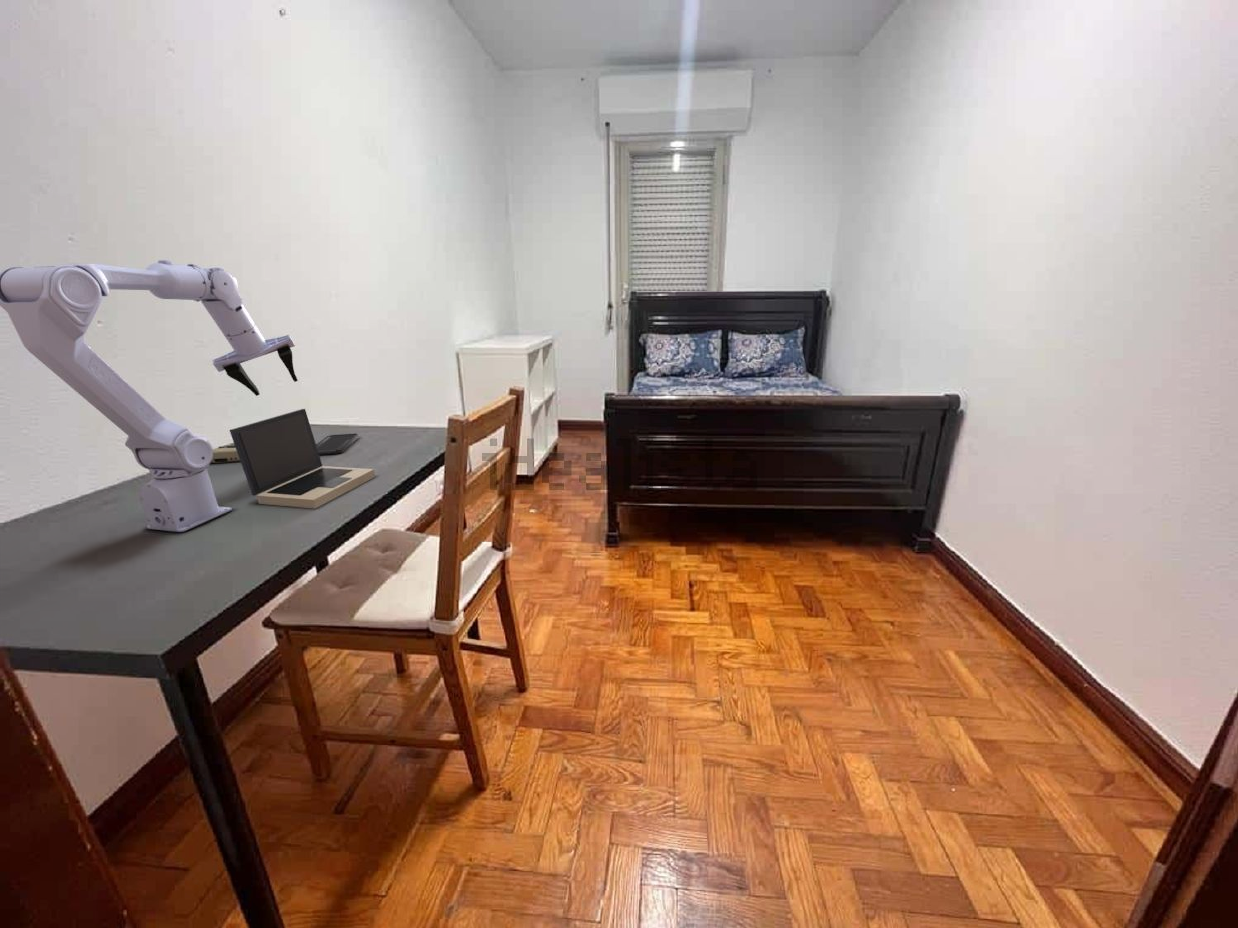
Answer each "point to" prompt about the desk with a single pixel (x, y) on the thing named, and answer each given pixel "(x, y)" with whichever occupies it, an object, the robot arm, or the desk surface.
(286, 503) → the laptop
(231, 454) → the computer
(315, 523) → the desk surface
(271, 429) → the laptop screen
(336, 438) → the phone
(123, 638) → the desk surface
